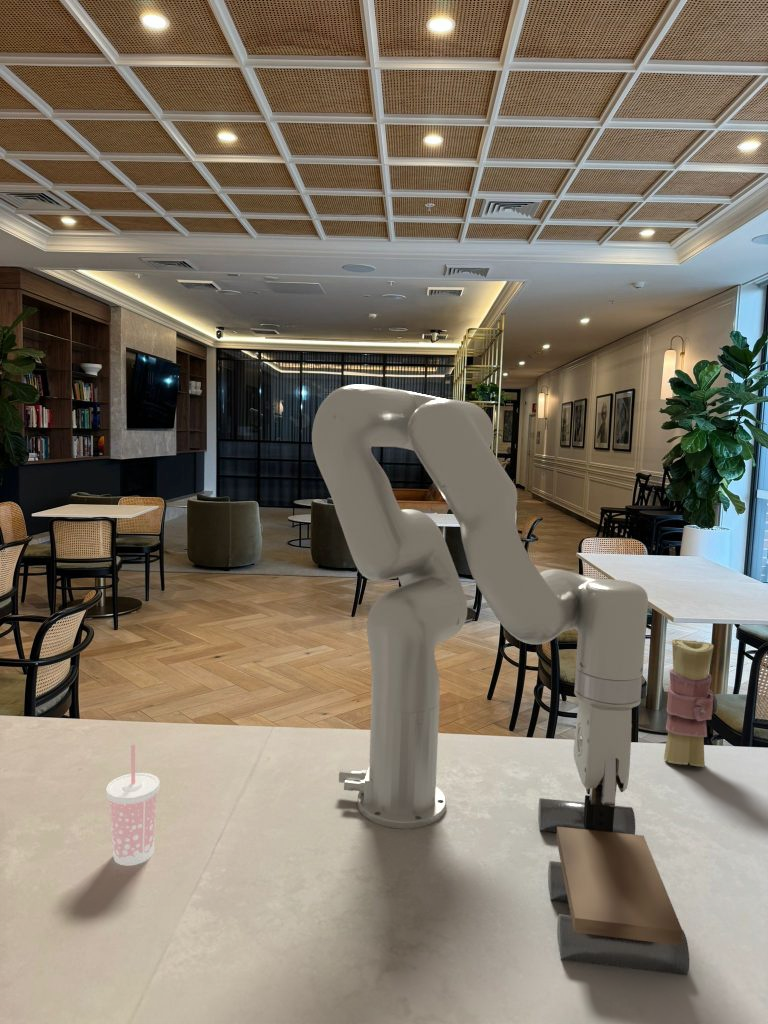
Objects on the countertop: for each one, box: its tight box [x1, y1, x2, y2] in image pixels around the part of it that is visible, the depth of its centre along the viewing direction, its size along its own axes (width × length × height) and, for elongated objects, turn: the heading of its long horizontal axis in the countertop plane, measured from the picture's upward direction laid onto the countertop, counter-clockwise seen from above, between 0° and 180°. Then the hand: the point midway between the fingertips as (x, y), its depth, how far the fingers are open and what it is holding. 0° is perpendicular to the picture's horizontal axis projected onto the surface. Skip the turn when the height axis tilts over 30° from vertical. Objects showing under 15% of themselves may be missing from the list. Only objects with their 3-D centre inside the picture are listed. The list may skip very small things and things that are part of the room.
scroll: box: [663, 639, 718, 768], centre depth 112 cm, size 8×8×20 cm
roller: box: [556, 913, 690, 976], centre depth 69 cm, size 12×4×4 cm
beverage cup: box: [105, 743, 161, 867], centre depth 84 cm, size 6×6×14 cm
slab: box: [555, 827, 684, 946], centre depth 74 cm, size 10×16×2 cm, turn 172°
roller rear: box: [537, 797, 636, 835], centre depth 92 cm, size 12×4×4 cm
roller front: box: [547, 860, 568, 903], centre depth 78 cm, size 12×4×4 cm
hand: (597, 830), depth 84 cm, fingers closed
